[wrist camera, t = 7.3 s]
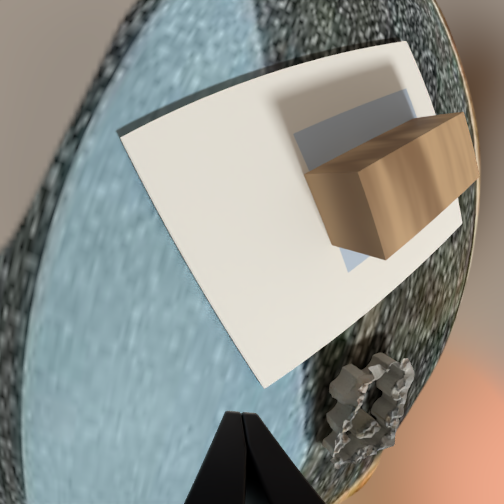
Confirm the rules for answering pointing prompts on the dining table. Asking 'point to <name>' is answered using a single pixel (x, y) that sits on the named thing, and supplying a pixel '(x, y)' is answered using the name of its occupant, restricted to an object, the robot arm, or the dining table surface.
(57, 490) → the dining table surface
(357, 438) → the egg carton
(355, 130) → the mat
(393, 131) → the oak block
